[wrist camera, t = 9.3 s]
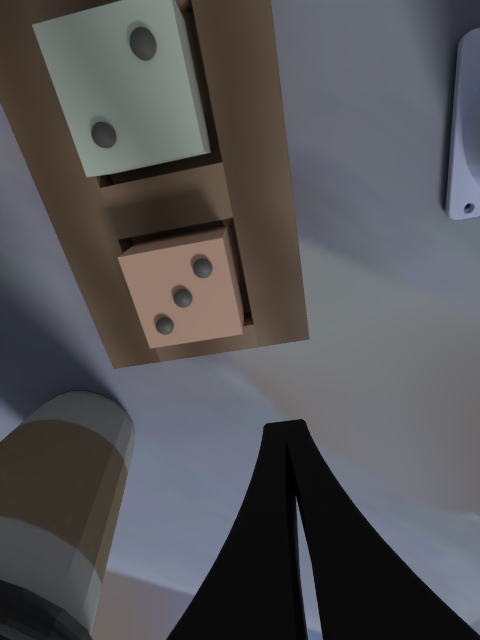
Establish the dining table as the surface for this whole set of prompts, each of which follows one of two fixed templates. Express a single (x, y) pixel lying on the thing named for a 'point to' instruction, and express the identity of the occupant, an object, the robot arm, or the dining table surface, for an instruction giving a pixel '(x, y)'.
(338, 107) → the dining table surface
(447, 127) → the dining table surface
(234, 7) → the board
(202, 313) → the tile three pip
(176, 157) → the tile two pip
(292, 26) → the dining table surface
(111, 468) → the coffee cup
